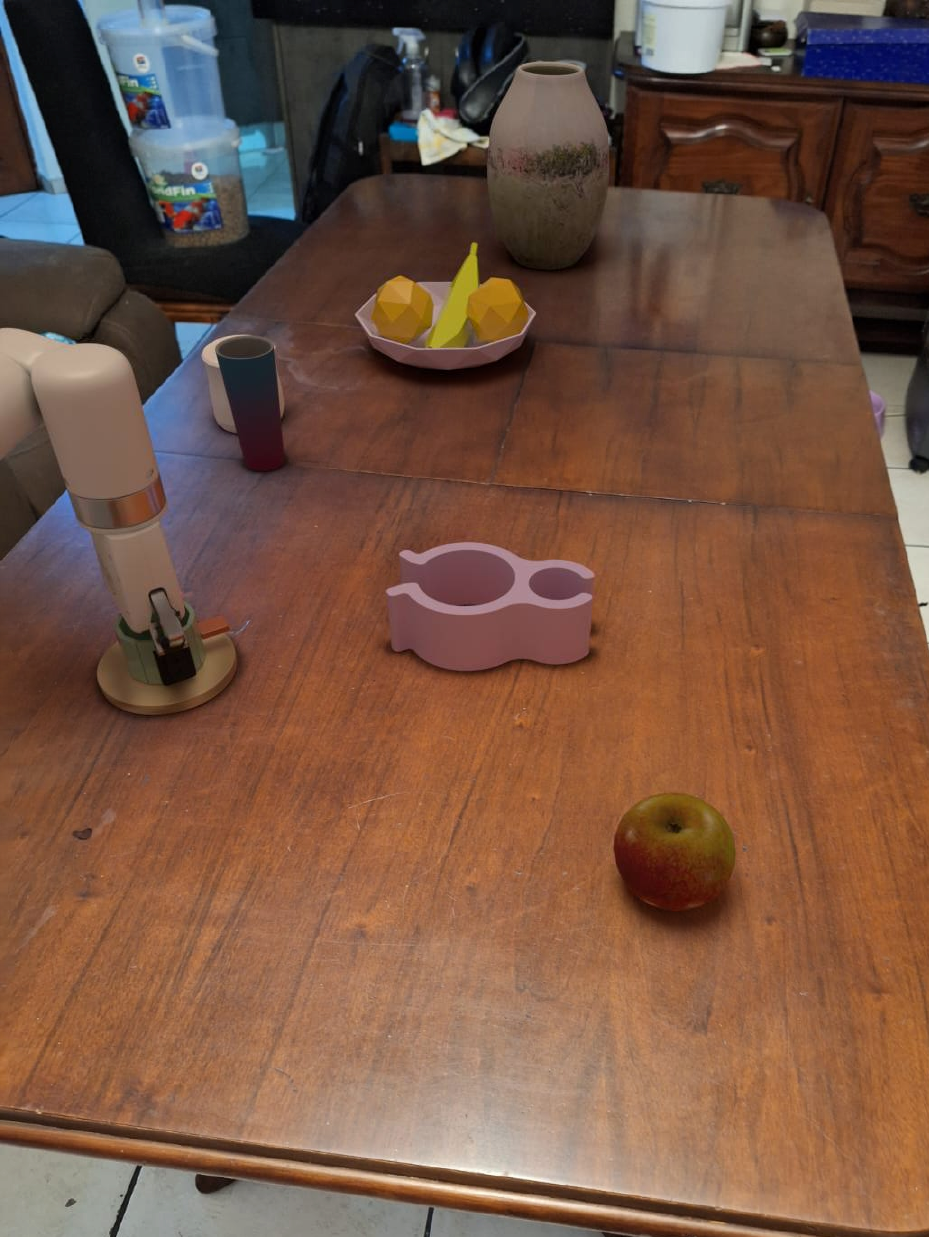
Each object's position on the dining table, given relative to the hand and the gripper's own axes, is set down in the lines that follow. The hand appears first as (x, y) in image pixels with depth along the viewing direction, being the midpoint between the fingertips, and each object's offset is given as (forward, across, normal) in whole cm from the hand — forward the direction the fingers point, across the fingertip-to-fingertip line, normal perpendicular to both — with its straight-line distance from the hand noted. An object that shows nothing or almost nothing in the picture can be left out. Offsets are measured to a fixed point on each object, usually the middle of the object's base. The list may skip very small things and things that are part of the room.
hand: (165, 655), depth 99 cm
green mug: (+1, 0, +1) cm, 1 cm away
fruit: (+2, +47, +25) cm, 53 cm away
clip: (+2, +12, +30) cm, 32 cm away
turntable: (+2, 0, 0) cm, 2 cm away
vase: (+2, -78, +97) cm, 124 cm away
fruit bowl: (+2, -52, +62) cm, 81 cm away
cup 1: (+2, -46, +27) cm, 53 cm away
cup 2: (+2, -34, +24) cm, 42 cm away
